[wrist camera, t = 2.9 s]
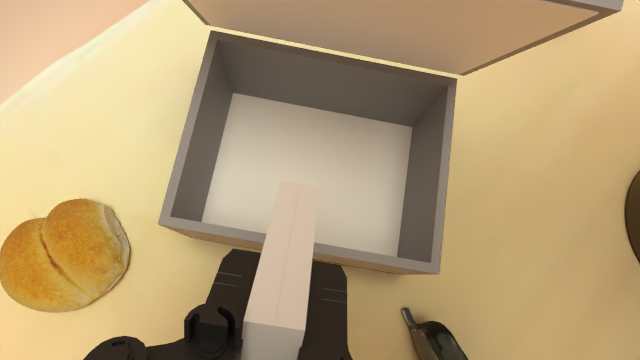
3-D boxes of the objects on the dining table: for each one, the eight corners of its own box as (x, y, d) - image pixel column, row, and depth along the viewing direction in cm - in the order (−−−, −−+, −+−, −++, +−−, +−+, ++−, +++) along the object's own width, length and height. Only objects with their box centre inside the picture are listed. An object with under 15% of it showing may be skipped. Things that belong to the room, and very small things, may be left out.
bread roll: (0, 242, 32) (-40, 237, 28) (105, 189, 34) (82, 178, 30) (39, 334, 31) (3, 342, 27) (147, 274, 32) (128, 274, 29)
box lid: (463, 76, 28) (465, 67, 28) (620, 13, 14) (625, -7, 14) (205, 25, 27) (206, 15, 27) (87, -97, 13) (90, -119, 13)
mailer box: (417, 124, 37) (457, 78, 29) (400, 274, 34) (439, 274, 25) (229, 88, 37) (210, 30, 28) (191, 237, 33) (157, 224, 24)
